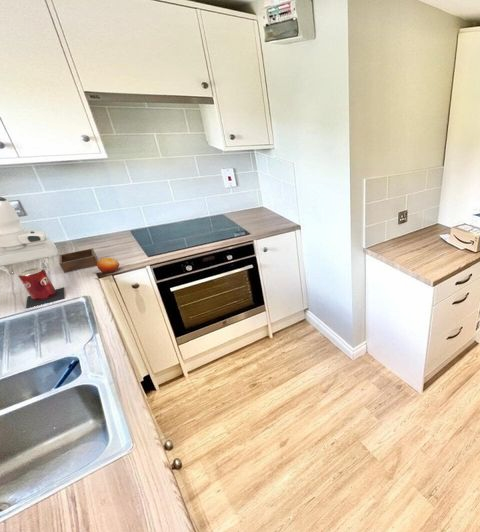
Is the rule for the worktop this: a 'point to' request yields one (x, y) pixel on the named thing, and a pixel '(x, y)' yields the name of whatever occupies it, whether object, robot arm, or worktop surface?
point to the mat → (57, 297)
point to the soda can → (37, 284)
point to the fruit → (107, 265)
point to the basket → (78, 260)
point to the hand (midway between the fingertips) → (29, 270)
